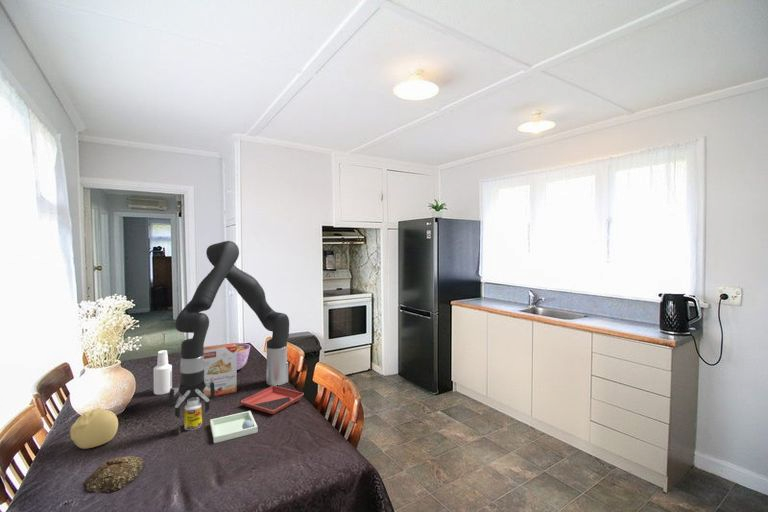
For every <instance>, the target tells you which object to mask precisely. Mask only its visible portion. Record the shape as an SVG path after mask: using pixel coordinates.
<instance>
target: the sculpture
mask: <svg viewBox="0 0 768 512" xmlns="http://www.w3.org/2000/svg"><path fill="white" fill-rule="evenodd" d="M118 428H119V419H118V417H117V415H116V414H115V413H114V412H113V411H111V410H107V409H101V408H100V407H98V408H94V409H92V410H89V411H84V413H83V414H82V415H80V416H79V417H78V418H77V419H76V420H75V422H74V423H73V424H72V425H71V427H70V429H69V433H70V439H71V441H73V444H74V445H75V446H77V447H78V448H80V449H83V450H84V449H85V450H86V449H91V448H95V447H98V446H99V447H100V446H102V445H104V444H107V443H108V442H110V441H111V440H113V438H114V437H115V435H116V434H117V432H118Z"/></svg>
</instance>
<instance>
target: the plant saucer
mask: <svg viewBox="0 0 768 512" xmlns="http://www.w3.org/2000/svg"><path fill="white" fill-rule="evenodd" d="M303 396H304V392H300V391H297V390H293V389H289V388H285V387H280V386H271V385H270V386H269V387H267V388H264V389H262V390H261V391H259V392H257V393H255V394H252V395H250V396H248V397H245V398H244V399H241V401H240V402H241V403H242V405H244V406H245V407H247V408H250V409H253V410H257V411H260V412H262V413H265V414H270V415H275V414H277V413H278V412H280V411H283V410H284V409H285V408H288V407H289V406H290V405H293V404H296V403H298V401H300V400H301V399H302V397H303ZM284 398H285V399H286V398H289V400H290V401H287V402H286V403H284V404H282V405H281V406H279V407H276V408H275V409H269V408H266V407H264V406H263V407H262V406H259V405H257V404H263V403H267V402H272V401H276V400H281V399H284ZM295 402H296V403H295Z"/></svg>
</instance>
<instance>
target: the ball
mask: <svg viewBox="0 0 768 512" xmlns="http://www.w3.org/2000/svg"><path fill="white" fill-rule="evenodd" d="M250 427H253V423H252V421H250V420H246V421H245V422H244V423H243V425H242V428H243V429H246V428H250Z"/></svg>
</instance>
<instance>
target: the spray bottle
mask: <svg viewBox="0 0 768 512" xmlns="http://www.w3.org/2000/svg"><path fill="white" fill-rule="evenodd" d="M168 355H169V354H168V350H165V349H164V350H162V349H161V350H159V351H157V362H156V365H155V366H154V367H153V394H154V395H156V396H157V395H159V396H160V395H165V394H168V393H169V394H170V388H171V387H173V365H172V364H169V356H168Z"/></svg>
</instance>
